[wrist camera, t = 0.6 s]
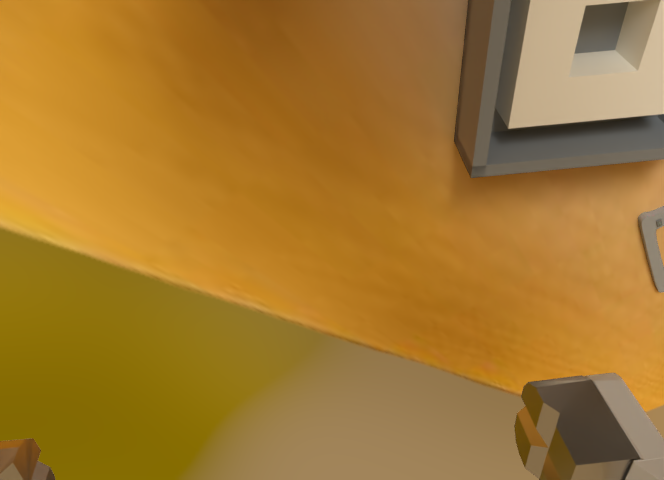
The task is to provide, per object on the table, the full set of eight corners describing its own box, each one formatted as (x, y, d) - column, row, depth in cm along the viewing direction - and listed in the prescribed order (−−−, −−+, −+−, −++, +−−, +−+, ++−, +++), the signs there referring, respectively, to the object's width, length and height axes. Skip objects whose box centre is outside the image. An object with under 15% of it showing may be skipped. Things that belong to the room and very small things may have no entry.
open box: (482, -132, 39) (509, -115, 35) (763, -155, 40) (826, -141, 36) (454, 141, 54) (470, 177, 50) (660, 121, 55) (695, 156, 50)
